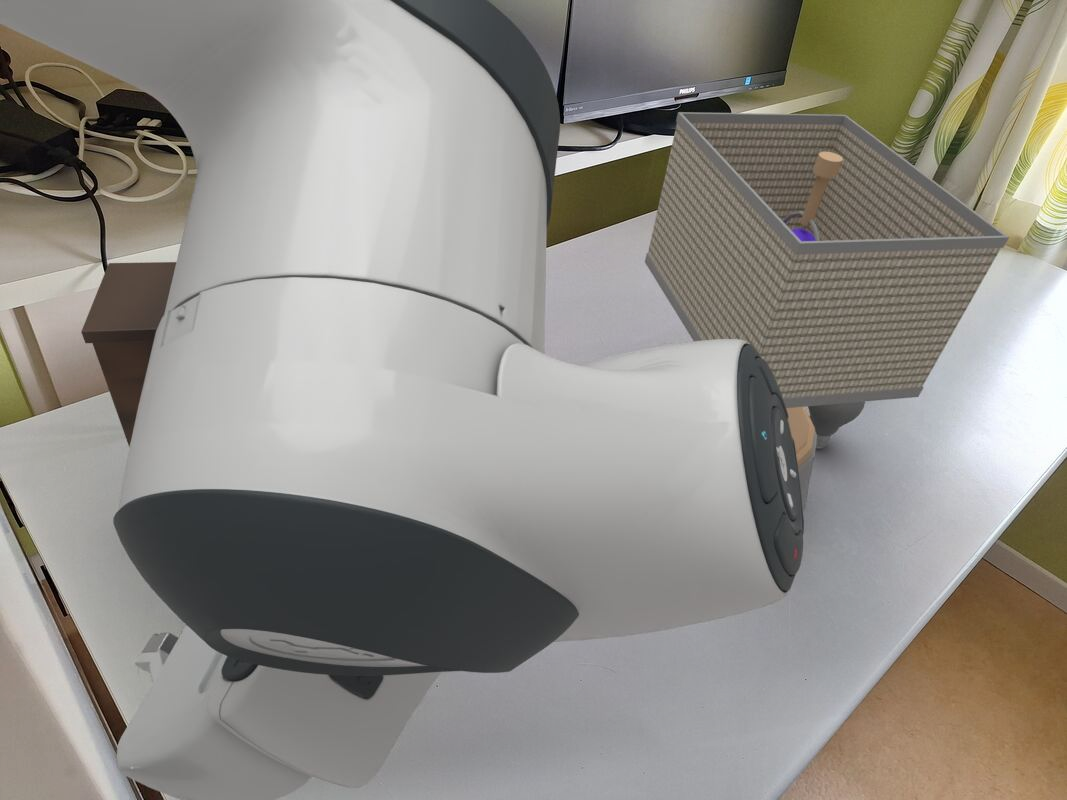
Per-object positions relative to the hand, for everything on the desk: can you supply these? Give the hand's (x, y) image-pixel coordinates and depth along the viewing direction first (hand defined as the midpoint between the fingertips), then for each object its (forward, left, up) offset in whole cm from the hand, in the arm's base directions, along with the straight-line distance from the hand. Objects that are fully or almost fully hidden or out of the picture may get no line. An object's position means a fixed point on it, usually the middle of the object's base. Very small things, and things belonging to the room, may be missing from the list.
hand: (208, 567), depth 38 cm
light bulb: (+58, +29, -26) cm, 70 cm away
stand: (-5, +24, -25) cm, 35 cm away
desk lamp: (+43, +24, -26) cm, 56 cm away
